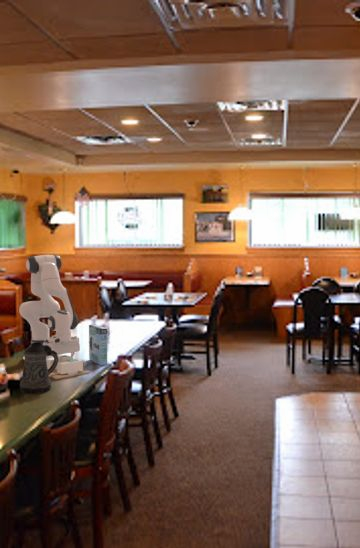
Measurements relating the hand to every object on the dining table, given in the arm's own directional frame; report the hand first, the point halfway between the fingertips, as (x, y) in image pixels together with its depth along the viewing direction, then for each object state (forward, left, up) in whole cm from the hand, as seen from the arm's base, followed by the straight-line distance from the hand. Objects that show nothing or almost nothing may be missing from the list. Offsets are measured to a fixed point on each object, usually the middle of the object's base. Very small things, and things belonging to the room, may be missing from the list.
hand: (64, 361), depth 372 cm
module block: (0, 0, -5) cm, 5 cm away
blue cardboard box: (-12, +31, -7) cm, 34 cm away
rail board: (0, 0, -7) cm, 7 cm away
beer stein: (+24, -29, -7) cm, 39 cm away
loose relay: (-8, +16, -7) cm, 19 cm away
